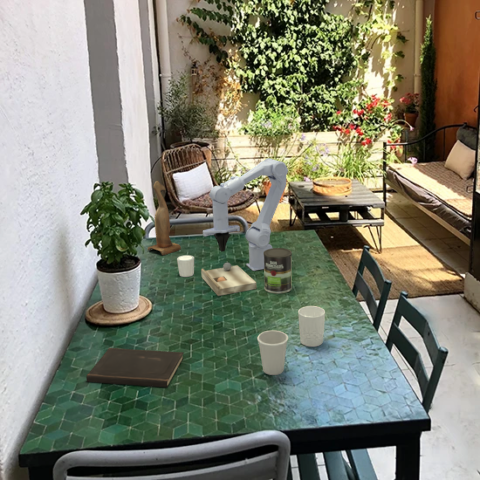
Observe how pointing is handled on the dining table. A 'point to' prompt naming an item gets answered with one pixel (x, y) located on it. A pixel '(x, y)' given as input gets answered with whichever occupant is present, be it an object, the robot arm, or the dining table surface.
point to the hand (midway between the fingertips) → (222, 250)
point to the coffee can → (278, 270)
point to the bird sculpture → (162, 225)
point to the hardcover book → (135, 367)
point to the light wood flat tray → (228, 280)
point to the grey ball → (227, 266)
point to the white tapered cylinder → (186, 265)
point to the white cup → (311, 325)
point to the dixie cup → (273, 351)
